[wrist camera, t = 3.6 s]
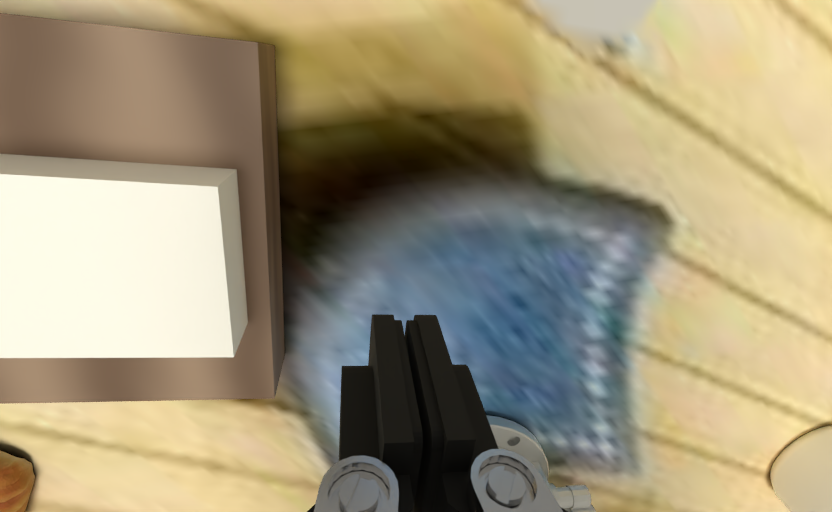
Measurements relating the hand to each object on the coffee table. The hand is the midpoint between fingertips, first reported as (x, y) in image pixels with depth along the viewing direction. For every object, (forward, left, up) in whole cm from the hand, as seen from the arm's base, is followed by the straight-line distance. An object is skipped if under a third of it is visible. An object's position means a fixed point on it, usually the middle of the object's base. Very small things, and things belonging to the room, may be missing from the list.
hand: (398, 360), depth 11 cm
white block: (+10, +1, -8) cm, 13 cm away
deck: (+12, +1, -12) cm, 16 cm away
